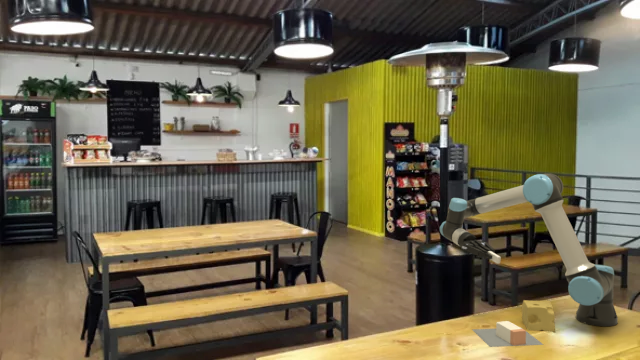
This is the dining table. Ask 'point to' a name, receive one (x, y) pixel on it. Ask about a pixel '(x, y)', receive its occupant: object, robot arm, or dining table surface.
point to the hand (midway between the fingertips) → (499, 260)
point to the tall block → (511, 333)
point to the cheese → (538, 315)
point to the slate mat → (496, 341)
